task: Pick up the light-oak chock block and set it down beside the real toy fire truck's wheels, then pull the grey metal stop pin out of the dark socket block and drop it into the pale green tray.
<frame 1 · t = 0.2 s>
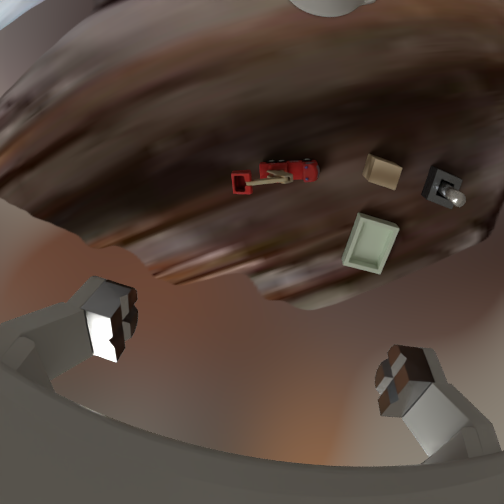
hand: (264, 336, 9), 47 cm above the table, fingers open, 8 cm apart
socket block: (438, 185, 50), on the table
stop pin: (448, 192, 46), in the socket block
toy fire truck: (279, 168, 54), on the table
chock: (378, 168, 51), on the table
tray: (368, 241, 57), on the table
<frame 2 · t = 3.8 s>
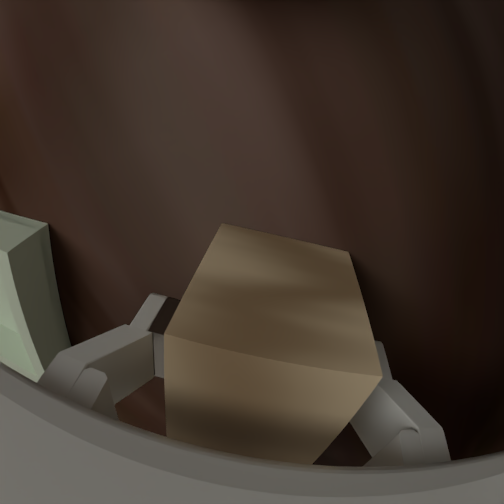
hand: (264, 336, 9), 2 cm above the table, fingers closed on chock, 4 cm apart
chock: (268, 302, 11), on the table, touching gripper
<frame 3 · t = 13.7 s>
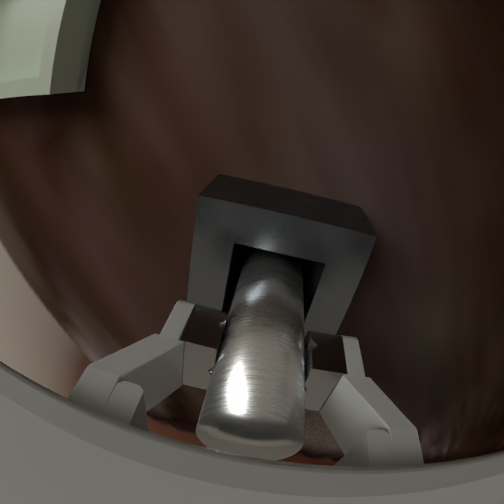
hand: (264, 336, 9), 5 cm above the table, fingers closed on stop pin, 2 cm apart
socket block: (274, 253, 14), on the table
stop pin: (266, 317, 10), in the socket block, touching gripper
tray: (28, 26, 9), on the table
when the fingers open (8 cm above the table, at t = 18.7 s): stop pin drops 1 cm, resting on tray.
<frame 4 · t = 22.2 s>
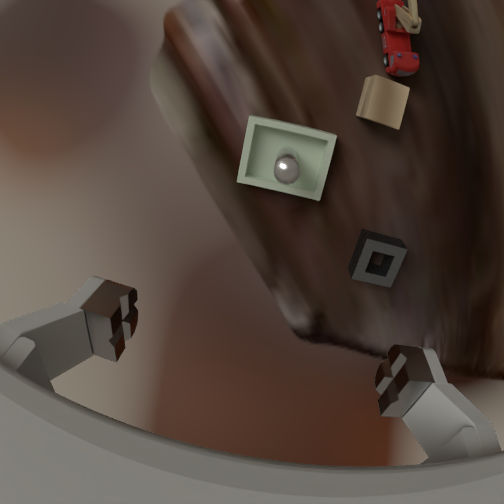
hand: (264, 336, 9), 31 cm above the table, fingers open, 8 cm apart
socket block: (374, 253, 41), on the table
stop pin: (286, 163, 32), in the tray, point 5 cm above the table
toy fire truck: (390, 26, 27), on the table
chock: (376, 101, 32), on the table
tray: (286, 154, 37), on the table
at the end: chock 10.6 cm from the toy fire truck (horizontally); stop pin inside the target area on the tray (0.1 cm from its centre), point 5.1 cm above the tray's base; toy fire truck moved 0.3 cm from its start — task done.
